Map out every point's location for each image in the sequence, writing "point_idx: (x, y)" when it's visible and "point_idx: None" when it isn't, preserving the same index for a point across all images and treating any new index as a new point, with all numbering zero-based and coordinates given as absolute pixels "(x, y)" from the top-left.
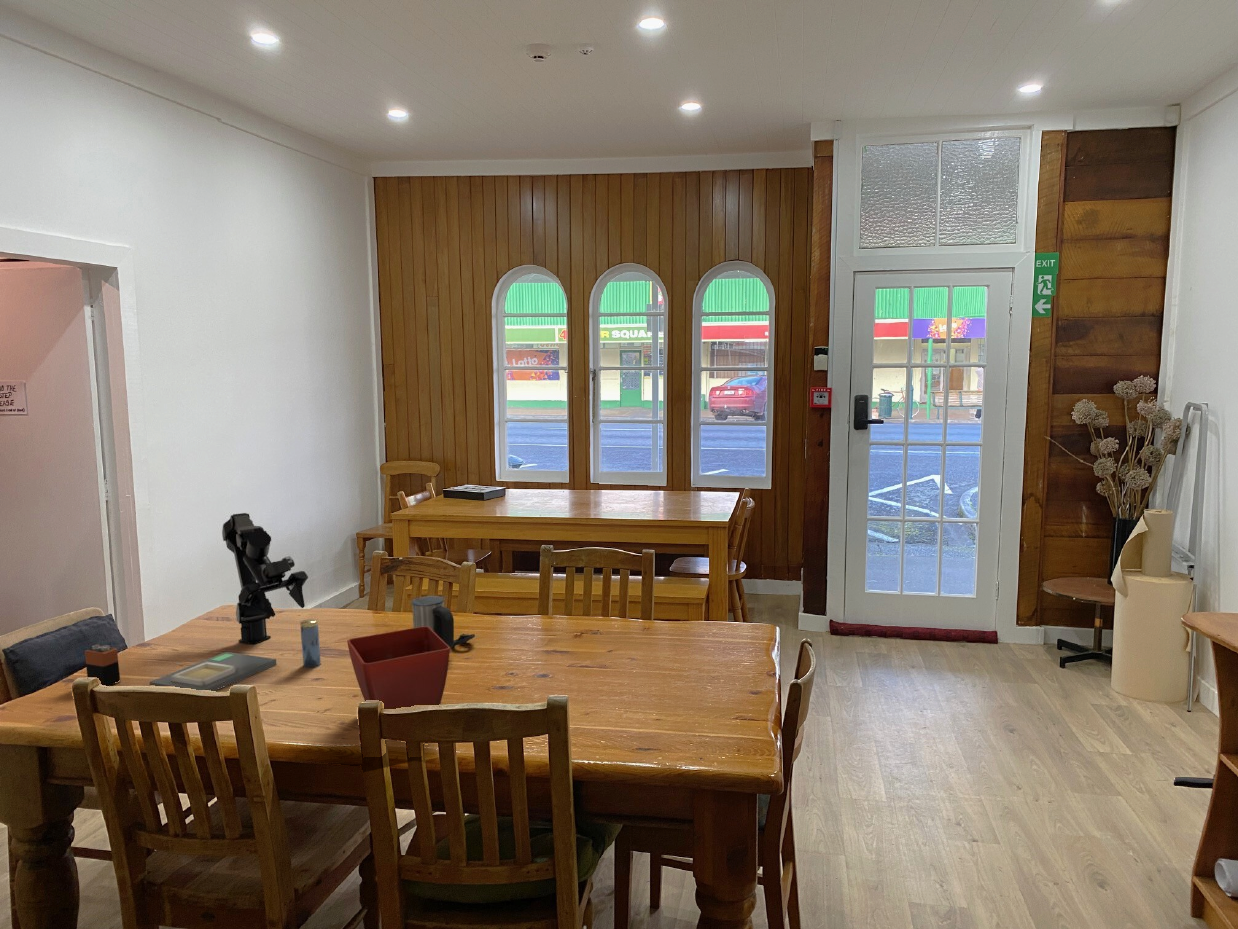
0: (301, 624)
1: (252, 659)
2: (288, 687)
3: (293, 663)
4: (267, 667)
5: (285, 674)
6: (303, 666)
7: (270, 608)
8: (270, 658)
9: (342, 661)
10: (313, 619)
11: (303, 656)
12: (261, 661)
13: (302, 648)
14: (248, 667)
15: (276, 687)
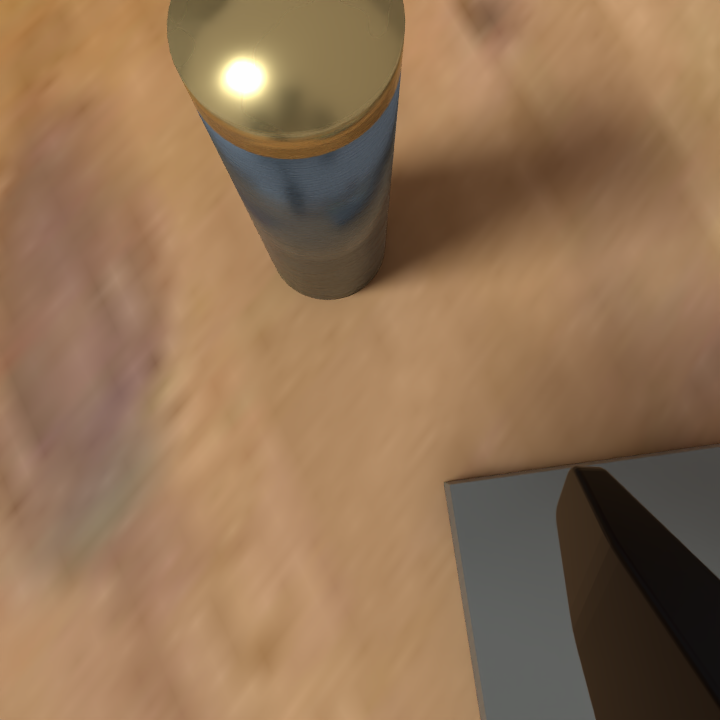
0: (400, 50)
1: (551, 661)
2: (670, 55)
3: (364, 391)
4: (531, 470)
5: (537, 257)
6: (377, 269)
7: (692, 582)
8: (462, 539)
9: (182, 122)
10: (188, 42)
11: (385, 228)
12: (543, 544)
13: (384, 212)
14: (681, 516)
15: (712, 117)
